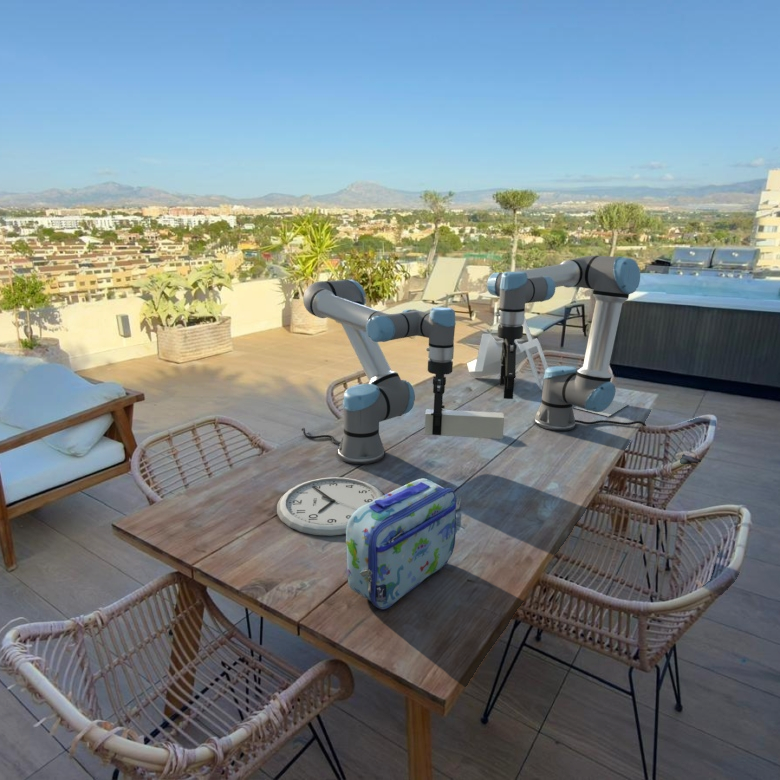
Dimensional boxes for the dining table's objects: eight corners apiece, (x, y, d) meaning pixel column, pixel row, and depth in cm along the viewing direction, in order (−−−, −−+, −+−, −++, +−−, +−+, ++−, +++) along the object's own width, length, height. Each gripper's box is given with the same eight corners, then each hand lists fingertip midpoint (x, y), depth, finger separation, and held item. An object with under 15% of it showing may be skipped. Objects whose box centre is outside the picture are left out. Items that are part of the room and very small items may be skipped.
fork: (437, 530, 132) (438, 523, 131) (452, 500, 146) (452, 494, 145) (447, 532, 131) (448, 525, 130) (461, 502, 145) (462, 496, 144)
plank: (501, 433, 165) (503, 412, 163) (502, 439, 161) (504, 417, 159) (425, 429, 168) (426, 408, 166) (424, 434, 163) (425, 413, 161)
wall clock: (392, 527, 129) (269, 531, 127) (392, 533, 130) (269, 537, 127) (383, 473, 158) (282, 475, 155) (383, 478, 158) (283, 480, 156)
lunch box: (375, 622, 100) (376, 527, 94) (339, 595, 108) (338, 505, 101) (459, 565, 118) (465, 481, 112) (424, 545, 125) (427, 465, 119)
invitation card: (608, 416, 214) (573, 407, 224) (608, 416, 214) (573, 407, 224) (627, 404, 229) (594, 396, 238) (627, 405, 229) (594, 397, 239)
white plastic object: (488, 419, 266) (468, 396, 241) (469, 346, 288) (449, 319, 263) (559, 395, 254) (545, 368, 229) (533, 321, 276) (519, 290, 251)
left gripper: (429, 352, 167) (426, 420, 174) (426, 366, 150) (423, 441, 157) (453, 353, 166) (449, 422, 173) (452, 367, 149) (448, 442, 156)
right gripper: (495, 316, 170) (491, 379, 176) (501, 332, 146) (497, 404, 153) (518, 317, 169) (514, 380, 175) (529, 333, 145) (523, 405, 152)
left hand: (436, 431), depth 165 cm, fingers closed on plank, 4 cm apart
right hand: (506, 391), depth 164 cm, fingers open, 13 cm apart
